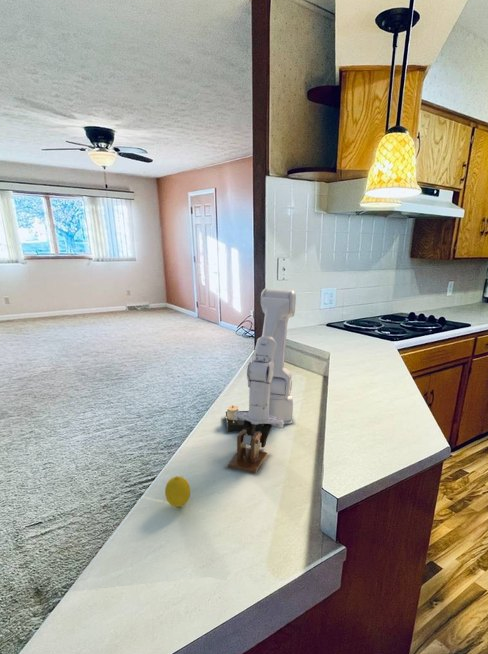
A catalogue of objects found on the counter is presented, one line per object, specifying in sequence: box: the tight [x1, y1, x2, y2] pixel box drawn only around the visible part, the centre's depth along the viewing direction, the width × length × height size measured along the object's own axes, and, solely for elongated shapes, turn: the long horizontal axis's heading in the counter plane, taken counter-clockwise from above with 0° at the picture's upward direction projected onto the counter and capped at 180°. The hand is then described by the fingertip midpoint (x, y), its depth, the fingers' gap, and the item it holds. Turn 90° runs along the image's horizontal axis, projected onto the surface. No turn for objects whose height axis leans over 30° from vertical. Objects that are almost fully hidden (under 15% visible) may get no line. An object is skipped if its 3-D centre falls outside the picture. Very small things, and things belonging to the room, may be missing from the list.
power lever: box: [243, 433, 262, 446], centre depth 116 cm, size 12×3×3 cm, turn 166°
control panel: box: [220, 410, 263, 433], centre depth 135 cm, size 13×11×3 cm
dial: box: [226, 404, 239, 420], centre depth 134 cm, size 4×4×4 cm
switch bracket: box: [227, 429, 268, 474], centre depth 113 cm, size 10×8×9 cm
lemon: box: [164, 475, 191, 508], centre depth 93 cm, size 6×6×8 cm
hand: (257, 445), depth 121 cm, fingers closed on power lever, 3 cm apart
